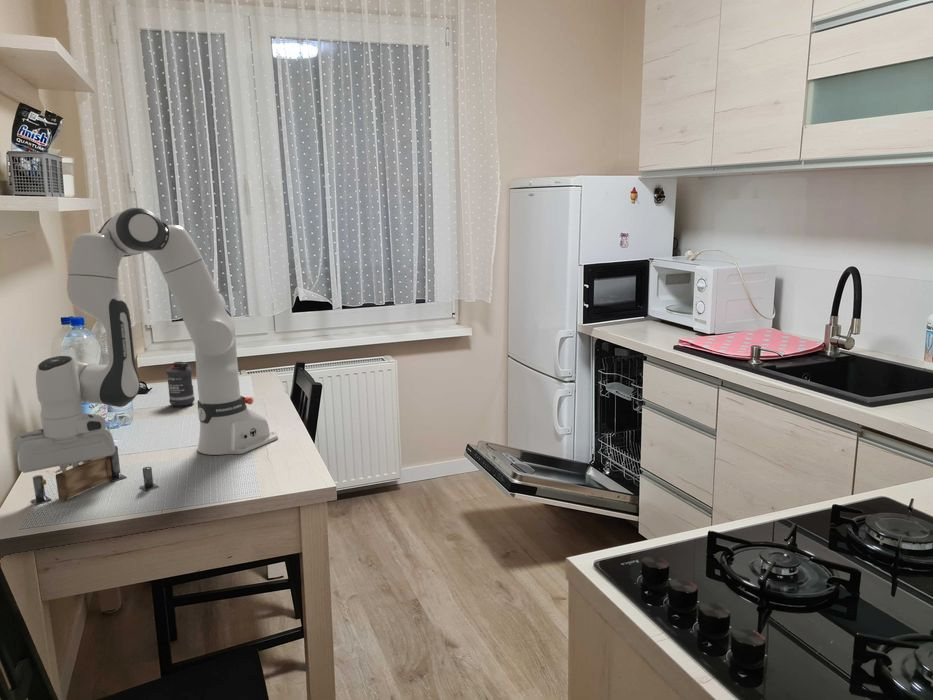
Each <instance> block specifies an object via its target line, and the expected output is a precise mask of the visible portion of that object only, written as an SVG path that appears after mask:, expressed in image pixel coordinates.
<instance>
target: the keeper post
mask: <svg viewBox="0 0 933 700" xmlns="http://www.w3.org/2000/svg"><path fill="white" fill-rule="evenodd" d="M142 476H143V477H142V478H143V484H144V485H140V486H139V489H141V490H143V491H145V492H147V490H148V491H151V490H153V488H154V489H157V488H159V487H160V486H159V485H158V484H156V483H154V478H153V477H154V476H153V469H152V466H144V467H143V468H142ZM156 487H157V488H156ZM150 489H151V490H150Z"/></svg>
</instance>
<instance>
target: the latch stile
mask: <svg viewBox="0 0 933 700" xmlns="http://www.w3.org/2000/svg"><path fill="white" fill-rule="evenodd" d="M32 482H33V490H34V495H35V496H34V497H35V498H33V499H31V500H30V501H31V503H33V504H34V505H36V506H37V505H41V504H44V503H47V502H51V501H52V499H51V498H50V497H49V496H47V495H46V489H45V485H47V480H46V479H45V478H44V476H43V475H41V474H40V475H34V476H33V477H32Z"/></svg>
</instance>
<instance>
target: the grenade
mask: <svg viewBox="0 0 933 700" xmlns="http://www.w3.org/2000/svg"><path fill="white" fill-rule="evenodd" d="M172 364H173V365H172V366H171V367H168V369H166V375H167V386H168V387H167V388H168V396H169V404H170V405H172V406H174V407H175V408H183V407H188V406H190V405H192V403H194V402H195V394H194V385H193V381H192V373H193V368H192V367H191V366H190V365H189V363H188V362H185V361H175V362H173V363H172Z"/></svg>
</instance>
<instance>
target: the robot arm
mask: <svg viewBox="0 0 933 700" xmlns="http://www.w3.org/2000/svg"><path fill="white" fill-rule="evenodd" d="M143 253H147V254H148V255H150V256H151V258H153V259H154V260H155V262H156V263H157V265H158V267H159V270H160V272H161V274H162V276H163V278H164V280H165V282H166V284H167V286H168V289H169V290H170V292H171V294H172V296H173V298H174V301H175V303H176V305H177V309H178V310H179V312H180V313H179V314H180V316H181V318H182V321H183V323H184V325H185V327H186V330H187V332H188V334H189V336H190V340H191V341H192V343H193V345H194V352H195V353H194V355H195V371H196V372H195V374H196V383H197V393H198V394H197V395H198V400H197V411H198V413H197V414H198V415H197V416H198V420H199V437H198V443H197V448H196V450H197V451H198V453H201V454H204V455H212V456H213V455H215V456H217V455H218V456H221V455H230V454H231V455H241V454H245V453H247V452H249V451H252V450H254V449H256V448H259V447H262V446H264V445H266V444H269V443H270V442H273V441H276V440H277V439H278V438H279V436H278V433H277V432H275V431H274V430H271V429H270V427H269V423H268V421H267V419H266V418H265V416H263V415H261V414H259V413H257V412H256V411H254V410H253V409H251V408H249V407H248V406H247V405H252V404H253V403H254V402H255V401H254V398H253V397H251V396H246V397H245V396H242V395H241V388H240V377H239V366H238V365H239V364H238V355H237V354H238V353H237V343H236V342H237V339H236V327H235V323H234V319H233V318H232V316H231V315H230V314H229V313H228V312H227V310H226V307H225V305H224V302H223V301H222V299H221V296H220V294H219V293H220V292H219V291H218V289H217V286H216V283H215V282H214V279H213V277H212V275H211V273H210V271H209V268H208V267H207V264H206V261H205V260H204V258H203V256H202V254H201V251H200V250H199V248H198V246H197V245H196V243H195V241H194V240H193V238H192V237H191V235H190V234H189V232H188V231H187V230H186V229H185V228H184V227H182V225H178V224H166V222H164V221H163V220H161V219H160V218H159V217H158V216H157V215H156V214H155V213H153V212H152V211H150V210H149V209H146V208H142V207H141V208H140V207H130V208H127V209H125V210H121V211H120V212H118V213H115V214H114V215H113V216H112V217H111V218H109V219H108V220H107V221H105V223H104V224H103V225H102V227H101V228H100V230H99V231H98V232H93V231H92V232H85V233H82V234H80V235H78V236H77V237H76V238H74V240H73V244H72V248H71V250H70V253H69V260H68V267H67V279H66V280H67V281H66V292H67V296H68V300H69V301H70V302H71V304H72V305H73V306H74V307H75V308H76V309H77V310H78V311H80V312H81V313H83V314H85V315H87V316H90V317H91V318H93V319H94V320H96V321H98V322H99V323H100V324H101V325H102V326H103V328H104V330H105V333H106V340H107V351H108V353H107V354H108V364H97V363H88V362H87V363H86V362H81V361H78V360H75V359H74V358H73V357H72V356H68V355H57V356H53V357H49V358H47V359H44V360H42V361H41V362H40V363H38V365H37V368H36V372H35V387H36V394H37V399H38V402H39V404H40V409H41V410H40V414H39V415H40V417H39V418H40V422H41V429H36V430H32V431H28V432H27V431H23V432H20V433H19V435H17V436H15V437H14V438H13V441H12V444H13V449H14V450H15V451H16V452H17V466H18V470H19V471H20V472H22V473H24V474H27V473H31V472H35V471H41V470H45V469H49V468H56V467H59V469H60V471H61V472H64V471H66V470H68V465H71V466H72V468H73V467H76V466H78V465H80V462H87V461H91V460H93V459H96V458H101V457H106V456H111V455H113V454H114V452H115V445H116V444H115V441H114V437H113V435H112V433H111V431H110V430H109V428H108V427H107V420H106V419H105V418H104V417H103V416H102V415H100V414H96V413H84V407H83V406H82V405H83V404H86V403H87V404H96V405H98V404H99V405H106V406H111V407H117V408H123V407H125V406H127V405H129V404H130V403H131V402H133V400H135V398H136V396H137V395H138V394H139V392H140V388H141V387H140V386H141V385H140V383H141V382H140V377H139V374H138V370H137V365H136V359H135V351H134V350H135V349H134V348H135V347H134V339H133V329H132V321H131V320H132V319H131V313H130V310H129V306H128V305H127V304H126V302H125V301H123V299H122V297H121V293H120V290H119V267H120V263H121V261H122V259H123V258H127V257H132V256H136V255H141V254H143ZM67 464H68V465H67Z"/></svg>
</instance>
